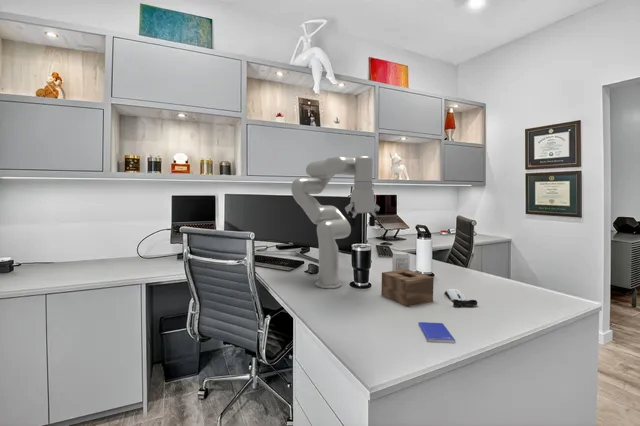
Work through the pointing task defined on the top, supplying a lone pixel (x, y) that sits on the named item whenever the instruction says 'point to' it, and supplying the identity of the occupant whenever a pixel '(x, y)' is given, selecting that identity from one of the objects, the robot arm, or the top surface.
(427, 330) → the hard drive
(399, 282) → the wooden tissue box
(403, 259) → the supplement can
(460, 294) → the computer mouse
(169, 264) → the top surface
